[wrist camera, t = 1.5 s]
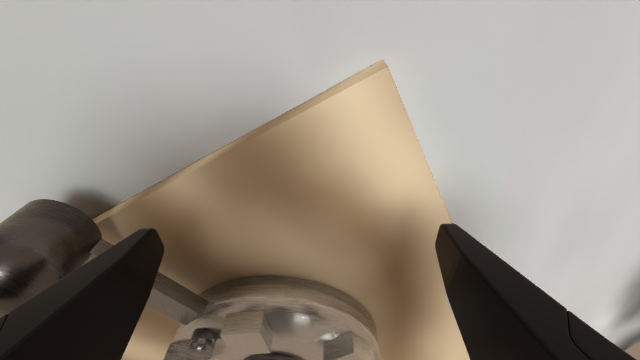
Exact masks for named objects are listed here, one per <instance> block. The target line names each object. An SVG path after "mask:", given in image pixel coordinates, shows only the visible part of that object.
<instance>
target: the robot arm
mask: <svg viewBox="0 0 640 360" xmlns="http://www.w3.org/2000/svg"><path fill="white" fill-rule="evenodd" d="M435 249H436V254H437V258H438V262H439V266H440V270H441V274H442V278H443V282H444V287H445V290H446V294H447V297H448V300H449V303H450V306H451V309H452V311H453V314H454V317H455V320H456V322H457V325H458V328H459V330H460V333H461V336H462V339H463V341H464V344H465V347H466V349H467V352H468V355H469V358H470V360H636V359H635V358H633V357H632V356H630V355H629V354H628V353H626V352H625V351H623V350H622V349H620V348H619V347H617V346H616V345H615V344H613V343H612V342H610V341H609V340H608V339H606V338H605V337H604V336H602V335H601V334H599V333H598V332H597V331H595V330H594V329H593V328H591V327H590V326H589V325H587V324H586V323H585V322H583V321H582V320H581V319H579V318H578V317H577V316H575V315H574V314H573V313H572V312H570V311H567V309H566V308H565V307H564V306H562V305H561V304H560V303H558V302H557V301H556V300H554V299H553V298H552V297H550V296H549V295H548V294H547V293H545V292H544V291H543V290H541V289H540V288H539V287H537V286H536V285H535V284H533V283H532V282H531V281H530V280H528V279H527V278H526V277H524V276H523V275H522V274H520V273H519V272H518V271H516V270H515V269H514V268H513V267H511V266H510V265H509V264H507V263H506V262H505V261H503V260H502V259H501V258H499V257H498V256H497V255H496V254H494V253H493V252H492V251H490V250H489V249H488V248H486V247H485V246H484V245H482V244H481V243H480V242H479V241H477V240H476V239H475V238H473V237H472V236H471V235H469V234H468V233H467V232H465V231H464V230H463V229H462V228H460V227H459V226H458V225H456V224H453V223H445V224H441V225H440V227H439V230H438V234H437V238H436V242H435ZM163 255H164V244H163V242H162V240H161V238H160V236H159V234H158V232H157V230H156V229H154V228H141V229H139V230H137V231H136V232H134V233H133V234H131V235H129V236H128V237H126V238H125V239H123V240H122V241H120V242H118V243H117V244H115V245H114V246H112V247H111V248H109V249H108V250H106V251H104V252H103V253H101V254H100V255H98V256H97V257H95V258H93V259H92V260H90V261H89V262H87V263H86V264H84V265H82V266H81V267H79V268H78V269H76V270H75V271H73V272H71V273H70V274H68V275H67V276H65V277H64V278H62V279H60V280H59V281H57V282H56V283H54V284H53V285H51V286H49V287H48V288H46V289H45V290H43V291H42V292H40V293H38V294H37V295H35V296H34V297H32V298H31V299H29V300H27V301H26V302H24V303H23V304H21V305H20V306H18V307H16V308H15V309H13V310H12V311H10V313H9V314H5V315H4V316H2V317H1V318H0V360H121V358H122V356H123V354H124V352H125V350H126V347H127V345H128V343H129V341H130V339H131V336H132V334H133V332H134V330H135V328H136V325H137V323H138V321H139V319H140V317H141V314H142V312H143V310H144V308H145V306H146V303H147V301H148V299H149V296H150V293H151V291H152V288H153V285H154V282H155V279H156V276H157V273H158V270H159V267H160V264H161V261H162V258H163Z"/></svg>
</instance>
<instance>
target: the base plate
mask: <svg viewBox="0 0 640 360" xmlns="http://www.w3.org/2000/svg"><path fill="white" fill-rule="evenodd" d="M92 220H93V221H94V222H95V223H96V225H97V226H98V228H99V229H100V232H101V234H102V239H104V240H106V241H108V242H109V243H111V244H113V245H115V244H117V243H118V242H120V241H122V240H123V239H125V238H126V237H128V236H129V235H131V234H133V233H134V232H136V231H137V230H139V229H141V228H154V229H156V230H157V232H158V234H159V236H160V238H161V240H162V242H163V244H164V255H163V258H162V261H161V264H160V267H159V270H158V272H160V273H162V274H163V275H165V276H167V277H168V278H170V279H172V280H174V281H175V282H177V283H179V284H180V285H182V286H184V287H185V288H187V289H189V290H190V291H192V292H194V293H196V294H197V295H199V294H201V293H202V292H204V291H205V290H207V289H209V288H211V287H213V286H215V285H218V284H221V283H223V282H226V281H230V280H234V279H238V278H245V277H252V276H287V277H295V278H302V279H306V280H311V281H315V282H319V283H322V284H325V285H328V286H331V287H333V288H335V289H338V290H340V291H342V292H344V293H346V294H347V295H349V296H351V297H352V298H354V299H355V300H357V301H358V302H359V303H360V304H361V305H362V306H364V307H365V308H366V309H367V311H368V312H369V313H370V315H371V316H372V318H373V320H374V322H375V326H376V330H377V337H378V344H379V351H380V358H381V360H470V358H469V355H468V352H467V349H466V347H465V344H464V341H463V339H462V336H461V333H460V330H459V328H458V325H457V322H456V320H455V317H454V314H453V311H452V309H451V306H450V303H449V300H448V297H447V294H446V290H445V287H444V282H443V278H442V274H441V270H440V266H439V262H438V258H437V254H436V249H435V242H436V238H437V234H438V230H439V227H440V225H441V224H445V223H452V222H451V220H450V217H449V215H448V212H447V210H446V207H445V205H444V202H443V200H442V198H441V195H440V193H439V190H438V188H437V185H436V183H435V180H434V178H433V175H432V173H431V171H430V168H429V166H428V163H427V161H426V158H425V156H424V153H423V151H422V149H421V146H420V144H419V141H418V139H417V136H416V134H415V131H414V129H413V126H412V124H411V122H410V119H409V117H408V114H407V112H406V109H405V107H404V104H403V102H402V100H401V97H400V95H399V92H398V90H397V87H396V85H395V82H394V80H393V78H392V75H391V73H390V70H389V68H388V66H387V64H386V63H385V62H384V60H381V61H379V62H377V63H375V64H374V65H372V66H370V67H368V68H366V69H364V70H363V71H361V72H359V73H357V74H355V75H354V76H352V77H350V78H348V79H346V80H344V81H343V82H341V83H339V84H337V85H335V86H333V87H332V88H330V89H328V90H326V91H324V92H323V93H321V94H319V95H317V96H315V97H313V98H312V99H310V100H308V101H306V102H304V103H303V104H301V105H299V106H297V107H295V108H293V109H292V110H290V111H288V112H286V113H284V114H283V115H281V116H279V117H277V118H275V119H273V120H272V121H270V122H268V123H266V124H264V125H263V126H261V127H259V128H257V129H255V130H253V131H252V132H250V133H248V134H246V135H244V136H243V137H241V138H239V139H237V140H235V141H233V142H232V143H230V144H228V145H226V146H224V147H223V148H221V149H219V150H217V151H215V152H213V153H212V154H210V155H208V156H206V157H204V158H203V159H201V160H199V161H197V162H195V163H193V164H192V165H190V166H188V167H186V168H184V169H183V170H181V171H179V172H177V173H175V174H173V175H172V176H170V177H168V178H166V179H164V180H163V181H161V182H159V183H157V184H155V185H153V186H152V187H150V188H148V189H146V190H144V191H143V192H141V193H139V194H137V195H135V196H133V197H132V198H130V199H128V200H126V201H124V202H123V203H121V204H119V205H117V206H115V207H113V208H112V209H110V210H108V211H106V212H104V213H102V214H101V215H99V216H97V217H95V218H93V219H92ZM179 326H180V322H178V321H176V320H174V319H172V318H170V317H168V316H167V315H165V314H163V313H161V312H159V311H157V310H155V309H153V308H151V307H149V306H147V305H146V306H145V308H144V310H143V312H142V314H141V317H140V319H139V321H138V323H137V325H136V328H135V330H134V332H133V334H132V336H131V339H130V341H129V343H128V345H127V347H126V350H125V352H124V354H123V356H122V358H121V359H122V360H163V359H164V357H165V355H166V352H167V350H168V348H169V346H170V343H172V342H173V340H174V337H175V335H176V333H177V330H178V328H179Z"/></svg>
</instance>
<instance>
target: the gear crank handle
mask: <svg viewBox="0 0 640 360" xmlns="http://www.w3.org/2000/svg"><path fill="white" fill-rule="evenodd" d="M112 246H114V245H113V244H111V243H109V242H108V241H106V240H104V239H102V234H101V232H100V229H99V228H98V226H97V225H96V223H95V222H94V221H93V220H92V219H91V218H90V217H89V216H87V215H86V214H85V213H83V212H82V211H80V210H78V209H77V208H75V207H73V206H70V205H68V204H65V203H62V202H59V201H55V200H48V199H40V200H34V201H31V202H29V203H28V204H26V205H25V206H23V207H22V208H21V209H19V210H18V211H17V212H15V213H14V214H13V215H11V216H10V217H8V218H7V219H6V220H4V221H3V222H2V223H0V318H1V317H2V316H4V315H5V314H9V313H10V311H12V310H13V309H15V308H16V307H18V306H20V305H21V304H23V303H24V302H26V301H27V300H29V299H31V298H32V297H34V296H35V295H37V294H38V293H40V292H42V291H43V290H45V289H46V288H48V287H49V286H51V285H53V284H54V283H56V282H57V281H59V280H60V279H62V278H64V277H65V276H67V275H68V274H70V273H71V272H73V271H75V270H76V269H78V268H79V267H81V266H82V265H84V264H86V263H87V262H89V261H90V260H92V259H93V258H95V257H97V256H98V255H100V254H101V253H103V252H104V251H106V250H108V249H109V248H111V247H112ZM146 305H147V306H149V307H151V308H153V309H155V310H157V311H159V312H161V313H163V314H165V315H167V316H168V317H170V318H172V319H174V320H176V321H178V322H180V326H179V328H178V330H177V333H176V335H175V337H174V340H173V342H172V343H170V346H169V348H168V350H167V352H166V355H165V357H164V359H163V360H381V358H380V351H379V344H378V337H377V330H376V326H375V322H374V320H373V318H372V316H371V315H370V313H369V312H368V311H367V309H366V308H365V307H364V306H362V305H361V304H360V303H359V302H358V301H357V300H355V299H354V298H352V297H351V296H349V295H347V294H346V293H344V292H342V291H340V290H338V289H335V288H333V287H331V286H328V285H325V284H322V283H319V282H315V281H311V280H306V279H302V278H295V277H287V276H252V277H245V278H238V279H234V280H230V281H226V282H223V283H221V284H218V285H215V286H213V287H211V288H209V289H207V290H205V291H204V292H202V293H201V294H199V295H197V294H196V293H194V292H192V291H190V290H189V289H187V288H185V287H184V286H182V285H180V284H179V283H177V282H175V281H174V280H172V279H170V278H168V277H167V276H165V275H163V274H162V273H160V272H158V273H157V276H156V279H155V282H154V285H153V288H152V291H151V293H150V296H149V299H148V301H147V303H146Z"/></svg>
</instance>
